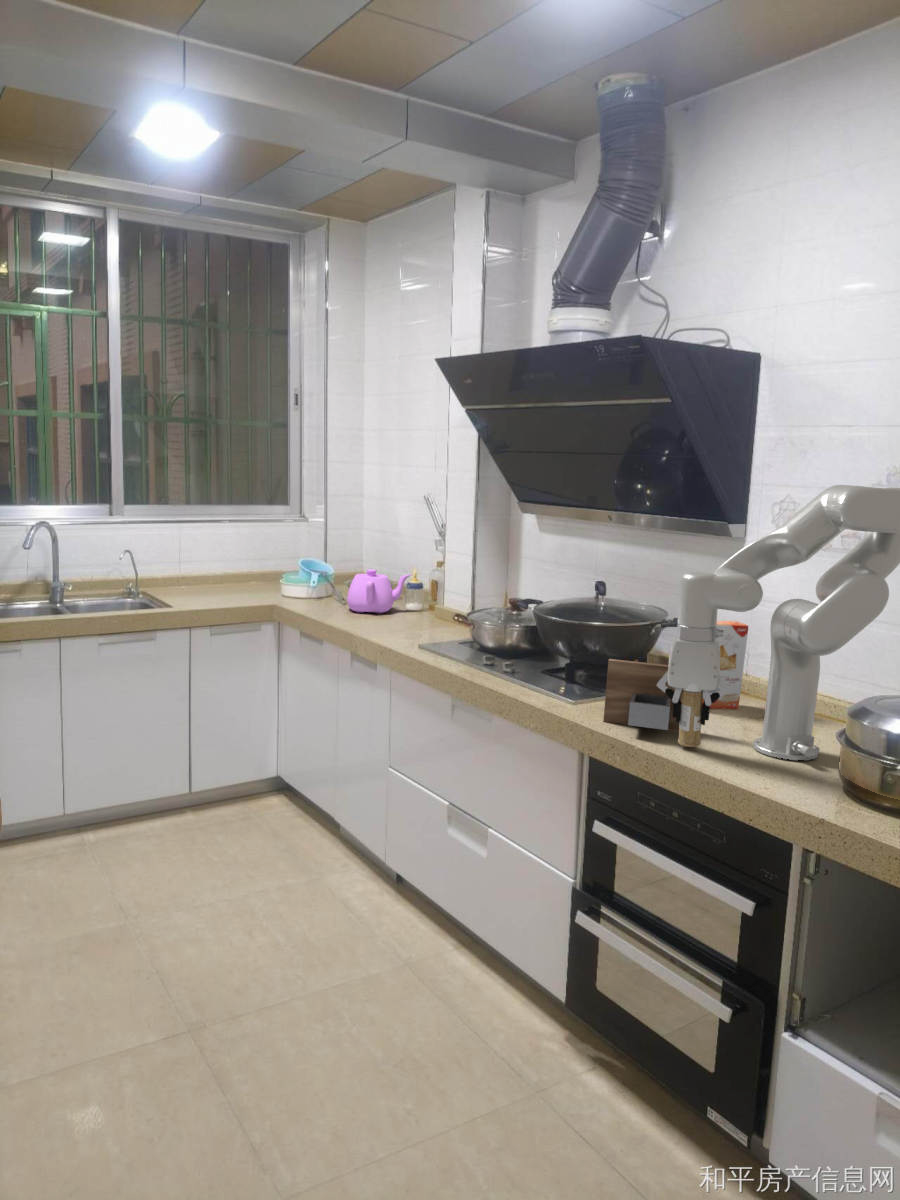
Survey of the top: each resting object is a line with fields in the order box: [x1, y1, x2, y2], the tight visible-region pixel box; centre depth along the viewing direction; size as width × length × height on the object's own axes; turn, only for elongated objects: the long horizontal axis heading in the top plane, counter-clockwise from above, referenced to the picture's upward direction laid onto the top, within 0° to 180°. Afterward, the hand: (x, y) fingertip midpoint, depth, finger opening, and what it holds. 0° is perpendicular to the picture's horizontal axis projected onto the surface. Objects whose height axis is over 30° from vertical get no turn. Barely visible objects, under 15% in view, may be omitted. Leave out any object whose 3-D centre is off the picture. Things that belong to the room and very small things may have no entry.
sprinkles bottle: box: [677, 684, 703, 748], centre depth 185 cm, size 5×5×14 cm
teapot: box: [346, 568, 412, 615], centre depth 327 cm, size 23×21×15 cm
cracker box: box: [702, 620, 749, 710], centre depth 219 cm, size 14×6×21 cm, turn 101°
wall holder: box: [603, 658, 682, 732], centre depth 195 cm, size 11×20×14 cm, turn 75°
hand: (690, 721), depth 186 cm, fingers closed on sprinkles bottle, 4 cm apart
